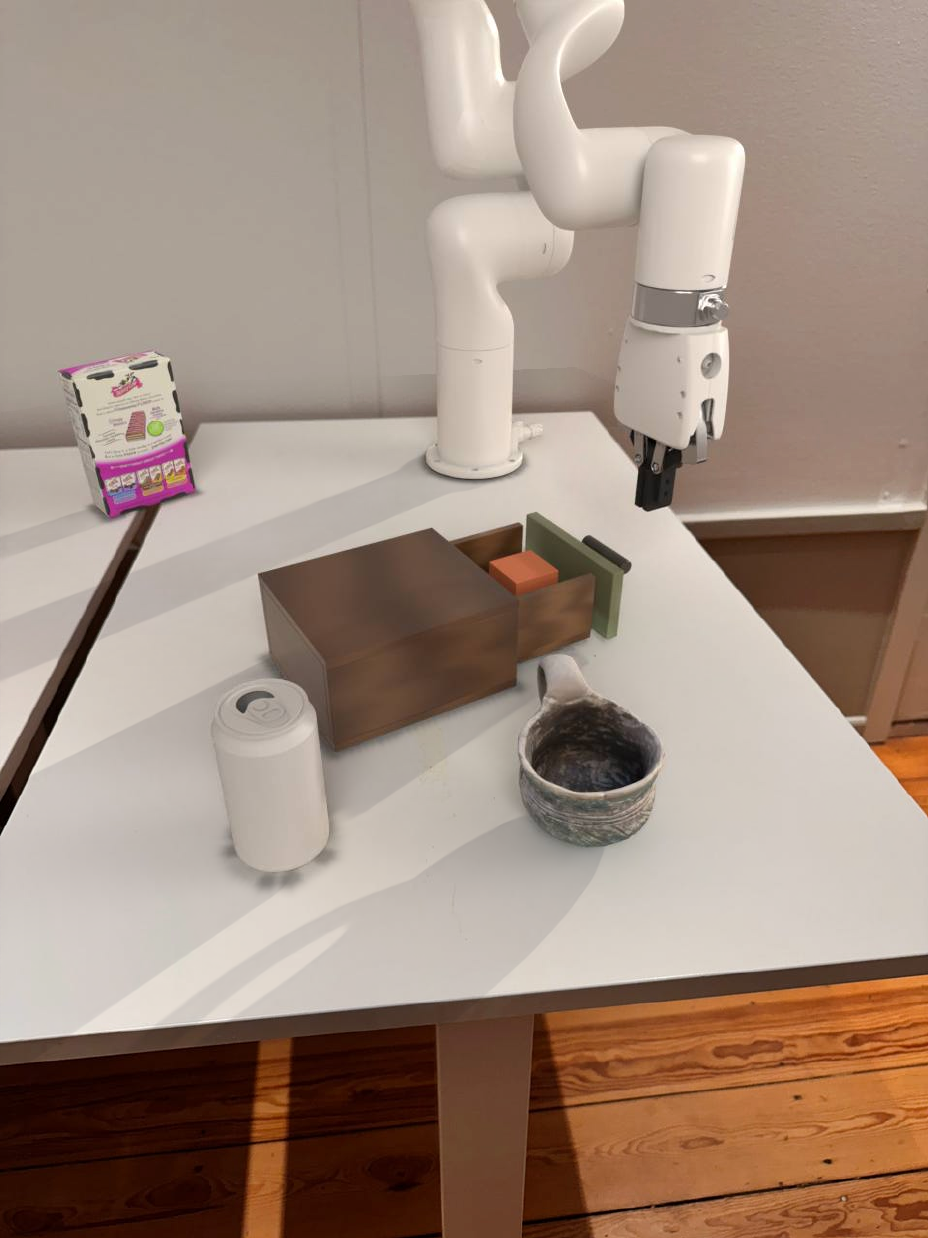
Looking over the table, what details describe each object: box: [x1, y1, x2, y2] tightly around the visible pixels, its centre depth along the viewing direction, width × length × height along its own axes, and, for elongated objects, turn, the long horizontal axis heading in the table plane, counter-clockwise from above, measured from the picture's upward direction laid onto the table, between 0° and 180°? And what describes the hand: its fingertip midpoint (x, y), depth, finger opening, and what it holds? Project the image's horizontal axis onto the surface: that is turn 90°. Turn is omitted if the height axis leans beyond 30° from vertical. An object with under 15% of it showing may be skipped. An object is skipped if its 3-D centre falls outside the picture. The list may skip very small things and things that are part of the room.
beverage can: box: [210, 677, 330, 873], centre depth 57 cm, size 6×6×12 cm
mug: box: [517, 653, 666, 848], centre depth 60 cm, size 10×12×10 cm
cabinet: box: [257, 527, 520, 753], centre depth 74 cm, size 17×15×9 cm
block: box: [489, 550, 559, 597], centre depth 80 cm, size 4×4×4 cm
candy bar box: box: [57, 350, 197, 519], centre depth 101 cm, size 11×5×16 cm, turn 131°
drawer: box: [448, 511, 633, 664], centre depth 80 cm, size 20×13×7 cm
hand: (652, 505), depth 83 cm, fingers closed
